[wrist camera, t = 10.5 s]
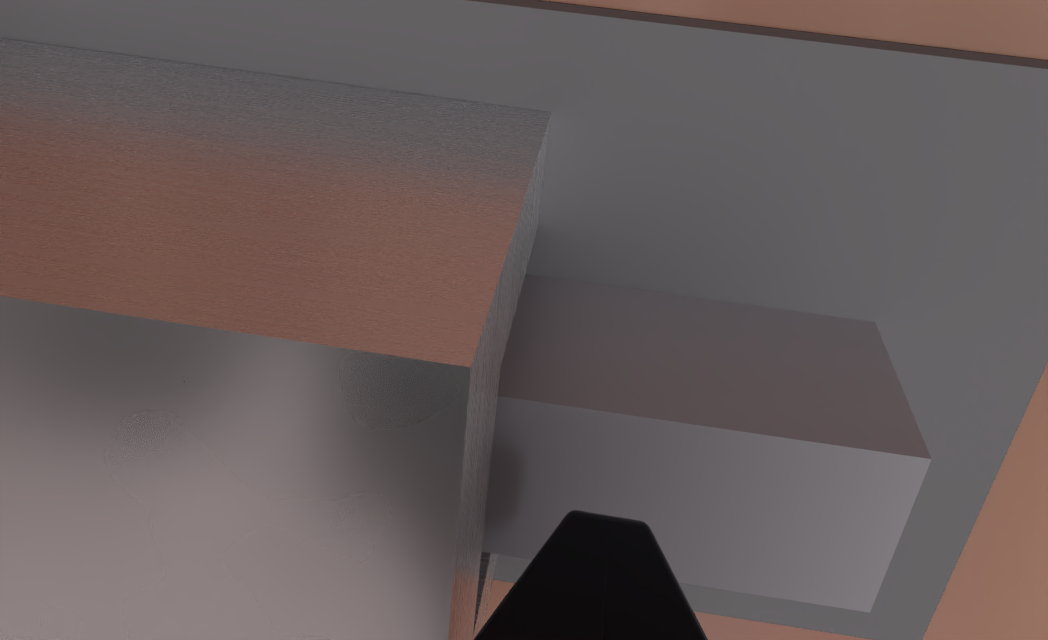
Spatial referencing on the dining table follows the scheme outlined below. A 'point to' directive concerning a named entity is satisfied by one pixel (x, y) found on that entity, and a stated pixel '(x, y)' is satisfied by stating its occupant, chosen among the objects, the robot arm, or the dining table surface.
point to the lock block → (250, 349)
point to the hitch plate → (718, 276)
